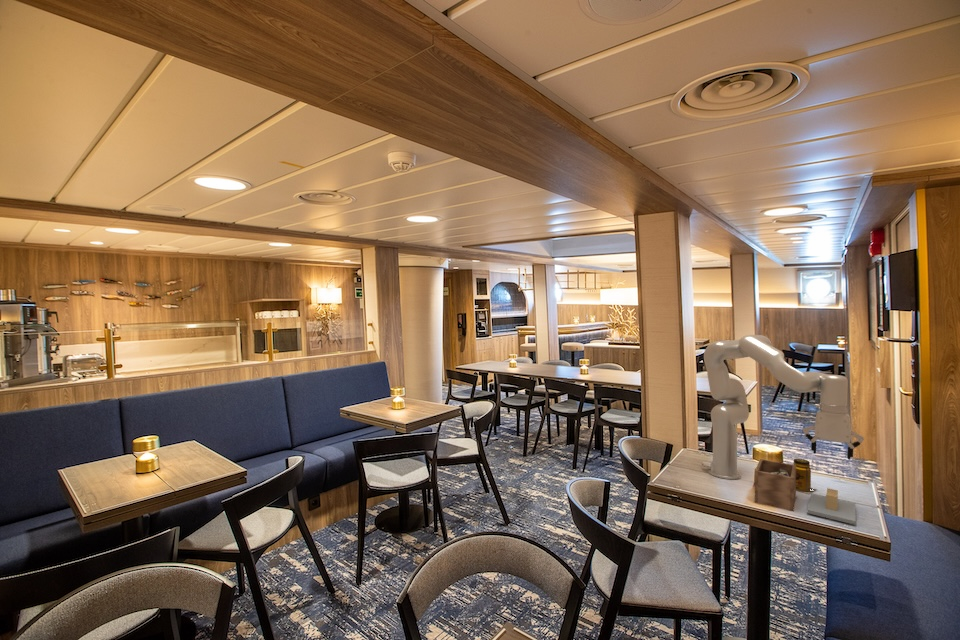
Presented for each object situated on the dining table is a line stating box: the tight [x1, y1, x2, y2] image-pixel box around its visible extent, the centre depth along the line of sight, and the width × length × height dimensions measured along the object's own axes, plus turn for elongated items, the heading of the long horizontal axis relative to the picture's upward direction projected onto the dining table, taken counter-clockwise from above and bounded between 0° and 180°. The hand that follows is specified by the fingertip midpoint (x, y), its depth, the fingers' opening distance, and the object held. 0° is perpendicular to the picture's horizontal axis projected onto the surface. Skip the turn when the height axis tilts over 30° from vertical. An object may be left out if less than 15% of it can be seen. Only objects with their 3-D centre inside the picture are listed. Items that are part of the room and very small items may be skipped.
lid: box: [806, 487, 857, 526], centre depth 156 cm, size 13×19×7 cm
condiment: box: [793, 458, 818, 495], centre depth 177 cm, size 7×8×12 cm
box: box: [754, 458, 797, 512], centre depth 167 cm, size 12×18×12 cm, turn 142°
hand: (831, 455), depth 157 cm, fingers open, 9 cm apart
